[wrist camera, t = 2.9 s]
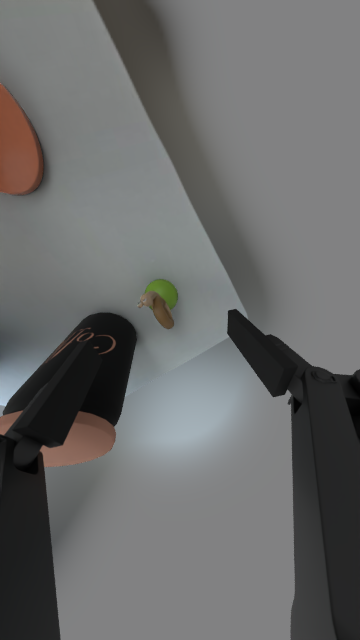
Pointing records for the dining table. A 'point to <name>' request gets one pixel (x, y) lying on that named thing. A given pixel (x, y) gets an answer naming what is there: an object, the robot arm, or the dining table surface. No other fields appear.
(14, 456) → the robot arm
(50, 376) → the coffee jar
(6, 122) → the terracotta coaster
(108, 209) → the dining table surface
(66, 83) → the dining table surface
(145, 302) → the snail figurine
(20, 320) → the dining table surface
